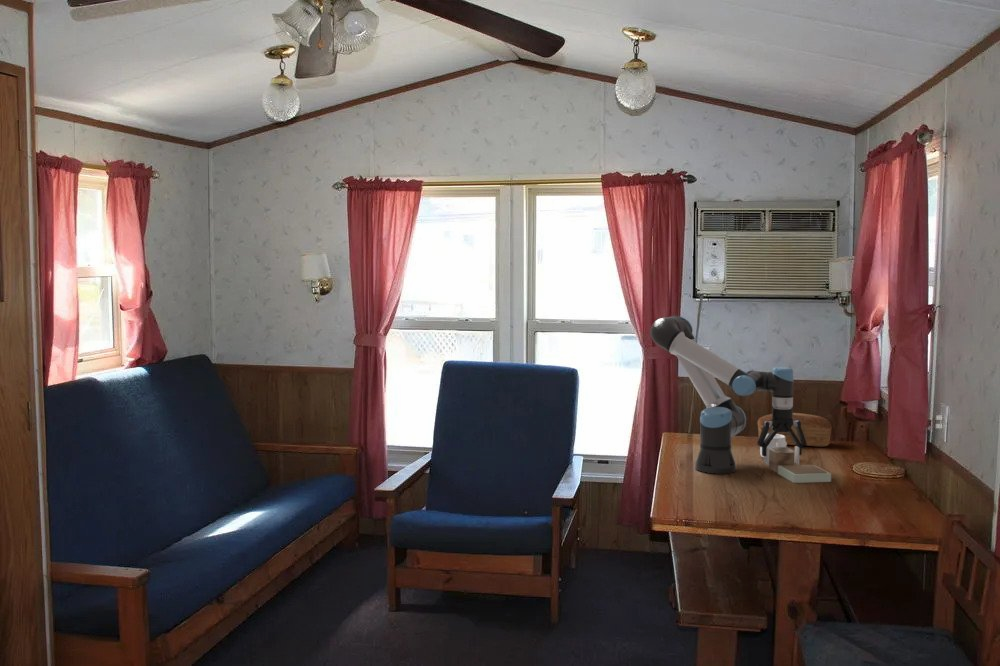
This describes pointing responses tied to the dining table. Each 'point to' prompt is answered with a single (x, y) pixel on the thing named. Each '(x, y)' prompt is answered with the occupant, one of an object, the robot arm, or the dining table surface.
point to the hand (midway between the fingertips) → (781, 464)
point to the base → (804, 473)
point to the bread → (804, 429)
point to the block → (780, 457)
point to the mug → (775, 442)
